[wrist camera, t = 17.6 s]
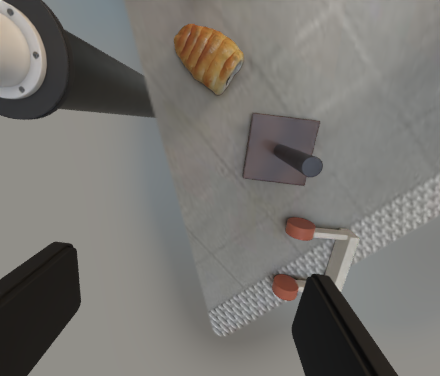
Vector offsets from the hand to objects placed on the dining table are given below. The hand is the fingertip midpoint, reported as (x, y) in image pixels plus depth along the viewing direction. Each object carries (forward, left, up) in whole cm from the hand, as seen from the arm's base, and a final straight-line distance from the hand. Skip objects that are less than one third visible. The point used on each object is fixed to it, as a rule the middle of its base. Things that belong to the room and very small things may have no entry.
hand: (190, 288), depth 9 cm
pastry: (-3, +15, -27) cm, 31 cm away
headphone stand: (+9, +4, -27) cm, 29 cm away
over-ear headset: (+13, -15, -25) cm, 31 cm away
